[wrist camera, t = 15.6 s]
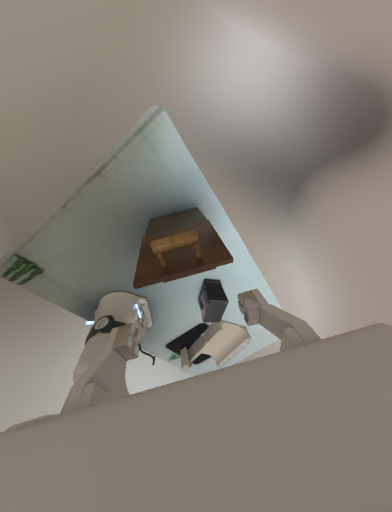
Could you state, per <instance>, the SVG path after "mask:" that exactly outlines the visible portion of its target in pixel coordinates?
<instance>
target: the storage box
mask: <svg viewBox="0 0 392 512" xmlns="http://www.w3.org/2000/svg"><path fill="white" fill-rule="evenodd" d="M205 220H207V219H206V218H205V216H204V215H203V214H202V212H201V211H200V210H199V208H198V207H197V208H194V209H190V210H186V211H182V212H178V213H174V214H170V215H167V216H163V217H159V218H155V219H151V220H150V221H149V224H148V227H147V230H146V233H145V236H148V235H152V234H156V233H160V232H164V231H167V230H171V229H175V228H179V227H183V226H186V225H190V224H194V223H198V222H202V221H205ZM212 269H216V267H214V268H210V269H207V270H203V271H199V272H196V273H192V274H188V275H185V276H181V277H178V278H174V279H170V280H167V281H163V283H165V282H169V281H172V280H176V279H179V278H183V277H187V276H190V275H194V274H198V273H201V272H205V271H209V270H212Z"/></svg>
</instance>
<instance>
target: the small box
mask: <svg viewBox="0 0 392 512" xmlns="http://www.w3.org/2000/svg"><path fill="white" fill-rule="evenodd" d="M198 300H199V305H200V309H201V313H202V318H203V322H220V321H221V318H222V316H223V314H224V311H225V309H226V306H227V304H228V302H229V301H228V299H227V297H226V294H225V292H224V290H223V288H222V285H221V283H220V280H207V279H205V280H204V283H203V286H202V289H201V293H200V296H199V299H198Z"/></svg>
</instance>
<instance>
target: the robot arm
mask: <svg viewBox="0 0 392 512" xmlns="http://www.w3.org/2000/svg"><path fill="white" fill-rule="evenodd" d="M238 299H239V301H238V305H239V308H240V311H241V313H242V314H244V319H245V321H246V322H247V324H248V326H251V325H255V324H259V323H260V325H262V326H263V327H264V328H266V329H267V330H268V331H270V332H271V333H273V334H274V335H275V336H277V337H278V338H279V339H281V340H282V342H281V347H280V350H281V352H277V353H274V354H270V355H267V356H263V357H260V358H256V359H253V360H249V361H246V362H243V363H240V364H236V365H232V366H229V367H225V368H222V369H218V370H215V371H211V372H208V373H205V374H201V375H198V376H194V377H191V378H187V379H184V380H180V381H177V382H173V383H170V384H167V385H163V386H160V387H156V388H153V389H150V390H146V391H142V392H139V393H136V394H132V395H129V392H128V390H127V386H126V380H125V370H126V362H127V361H128V360H131V359H134V358H137V357H138V354H139V350H140V351H141V352H142V353H144V354H146V355H148V356H151V357H152V358H153V364H152V365H154V362H155V355H154V357H153V356H152V355H150V354H148V353H146V352H144V351H142V350H141V348H140V341H141V337H143V336H144V334H145V331H146V329H148V328H150V327H151V326H152V324H153V321H152V317H151V313H150V309H149V305H148V301H147V299H146V298H144V297H138V296H135V295H133V294H131V293H127V292H112V293H109V294H107V295H105V296H104V297H102V299H101V300H100V302H99V306H98V308H97V310H96V311H95V313H94V315H95V318H94V321H87V322H86V324H92V327H91V330H90V332H89V334H88V336H87V338H86V342H85V347H84V350H83V352H82V354H81V356H80V358H79V361H78V363H77V365H76V368H75V370H74V373H73V381H74V385H73V386H72V388H71V390H70V392H69V395H68V397H67V399H66V401H65V403H64V406H63V408H62V410H61V413H60V414H52V415H45V416H42V417H38V418H34V419H31V420H28V421H25V422H22V423H19V424H16V425H13V426H11V427H9V428H8V429H7V430H5V431H4V432H0V512H392V326H391V325H387V324H381V323H379V324H374V325H370V326H367V327H364V328H360V329H357V330H354V331H350V332H346V333H343V334H339V335H336V336H333V337H329V338H326V339H322V340H321V339H320V337H319V336H318V335H317V334H316V333H315V332H314V331H313V329H311V327H310V326H309V325H308V324H307V323H306V322H305V321H303V320H301V319H299V318H297V317H295V316H293V315H291V314H289V313H287V312H285V311H283V310H281V309H279V308H277V307H275V306H273V305H269V304H268V303H267V301H266V300H265V298H264V297H263V296H262V294H261V293H260V292H259V290H258V289H254V290H250V291H246V292H243V293H240V294H238Z"/></svg>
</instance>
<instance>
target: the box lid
mask: <svg viewBox="0 0 392 512" xmlns="http://www.w3.org/2000/svg"><path fill="white" fill-rule="evenodd" d="M232 262H233V257H232V256H231V254H230V252H229V251H228V249H227V248H226V246H225V245H224V243H223V242H222V240H221V239H220V237H219V236H218V234H217V232H216V231H215V229H214V228H213V226H212V225H211V223H210V222H209V220H205V221H202V222H198V223H194V224H190V225H186V226H183V227H179V228H175V229H171V230H167V231H164V232H160V233H156V234H152V235H148V236H145V237H143V239H142V244H141V249H140V253H139V258H138V263H137V268H136V273H135V277H134V282H133V286H134V288H135V289H137V288H141V287H145V286H148V285H152V284H156V283H159V282H163V281H167V280H170V279H174V278H178V277H181V276H185V275H188V274H192V273H196V272H199V271H203V270H207V269H210V268H214V267H218V266H221V265H225V264H229V263H232Z"/></svg>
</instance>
